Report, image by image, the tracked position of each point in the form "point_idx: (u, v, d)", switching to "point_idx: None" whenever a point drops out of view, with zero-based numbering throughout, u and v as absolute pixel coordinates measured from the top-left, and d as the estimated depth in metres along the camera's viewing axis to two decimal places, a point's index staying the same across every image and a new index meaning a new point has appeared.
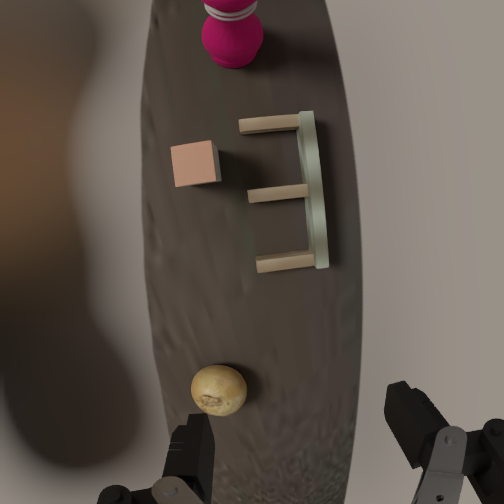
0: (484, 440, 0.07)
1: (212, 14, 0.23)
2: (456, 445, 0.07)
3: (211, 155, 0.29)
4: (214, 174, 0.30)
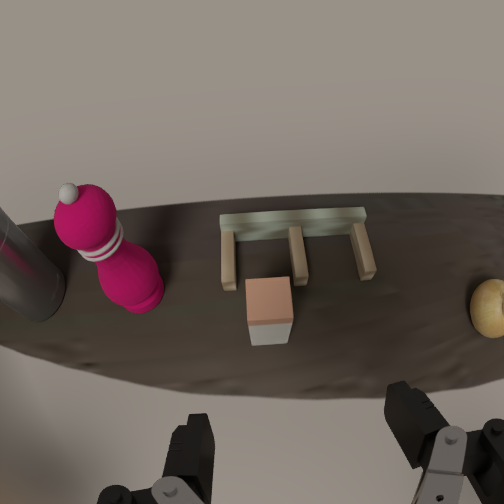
0: (484, 440, 0.07)
1: (109, 252, 0.27)
2: (456, 445, 0.07)
3: (261, 279, 0.29)
4: (282, 278, 0.29)
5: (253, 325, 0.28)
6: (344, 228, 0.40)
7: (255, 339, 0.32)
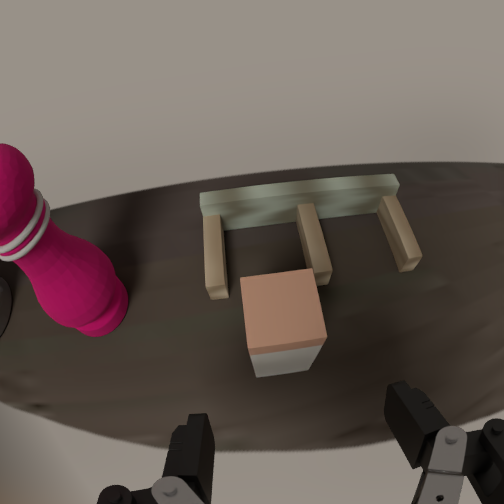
0: (484, 440, 0.07)
1: (27, 246, 0.15)
2: (456, 445, 0.07)
3: (267, 276, 0.17)
4: (301, 271, 0.17)
5: (258, 354, 0.16)
6: (370, 204, 0.29)
7: (262, 370, 0.21)
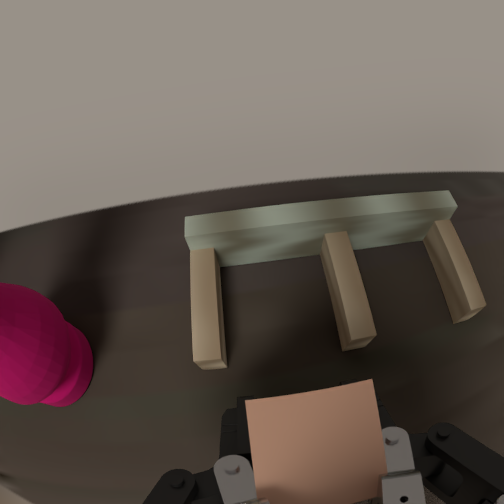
0: (432, 447, 0.08)
1: None
2: (395, 446, 0.08)
3: (294, 398, 0.09)
4: (353, 385, 0.09)
5: None
6: (418, 230, 0.21)
7: None
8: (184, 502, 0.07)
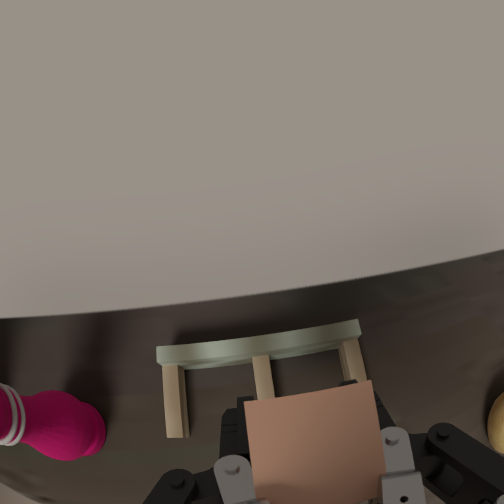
0: (432, 447, 0.08)
1: (15, 440, 0.14)
2: (395, 446, 0.08)
3: (293, 399, 0.09)
4: (352, 386, 0.09)
5: None
6: (330, 346, 0.29)
7: None
8: (184, 502, 0.07)
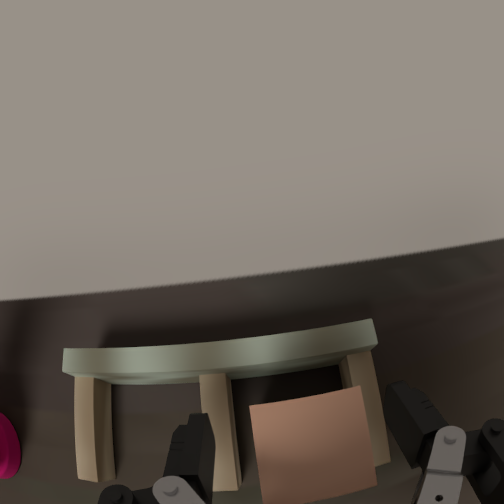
0: (483, 440, 0.07)
1: None
2: (455, 445, 0.07)
3: (292, 403, 0.10)
4: (343, 391, 0.10)
5: None
6: (327, 362, 0.18)
7: None
8: None
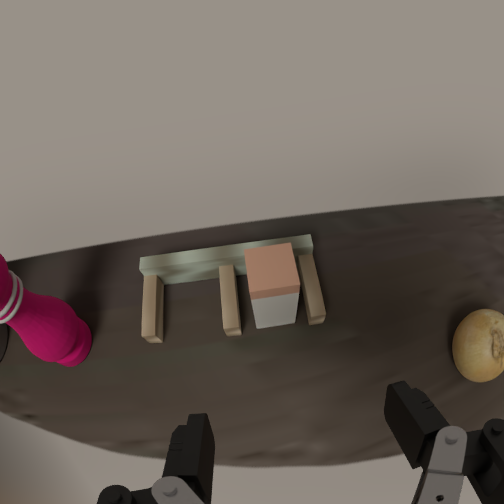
0: (484, 440, 0.07)
1: (10, 315, 0.21)
2: (456, 445, 0.07)
3: (261, 248, 0.27)
4: (283, 244, 0.27)
5: (256, 298, 0.26)
6: None
7: (260, 319, 0.30)
8: None
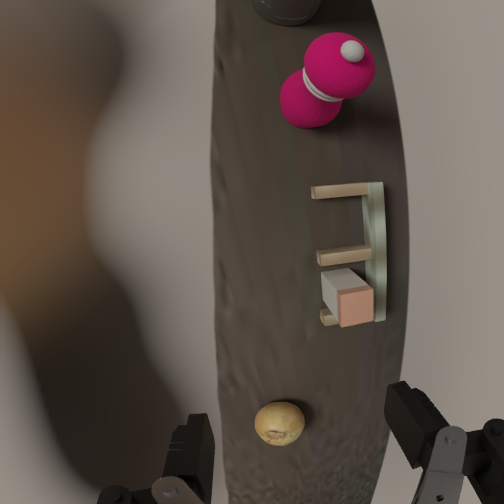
0: (484, 440, 0.07)
1: (312, 92, 0.25)
2: (456, 445, 0.07)
3: (372, 301, 0.34)
4: (372, 315, 0.34)
5: (336, 294, 0.35)
6: None
7: (326, 281, 0.40)
8: None
